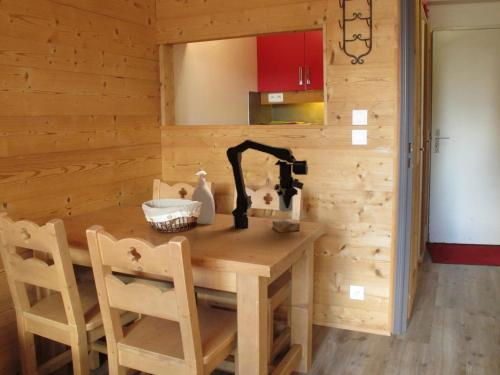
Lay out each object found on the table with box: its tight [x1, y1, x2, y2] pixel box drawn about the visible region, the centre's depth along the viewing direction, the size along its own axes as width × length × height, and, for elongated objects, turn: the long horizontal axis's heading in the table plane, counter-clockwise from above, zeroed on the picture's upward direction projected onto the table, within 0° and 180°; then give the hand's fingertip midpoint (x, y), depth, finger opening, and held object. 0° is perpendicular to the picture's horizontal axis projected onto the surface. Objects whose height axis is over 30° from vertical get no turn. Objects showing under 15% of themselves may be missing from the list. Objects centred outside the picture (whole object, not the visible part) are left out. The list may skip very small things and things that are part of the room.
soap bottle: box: [191, 170, 216, 225], centre depth 252 cm, size 14×8×27 cm, turn 56°
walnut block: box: [272, 218, 301, 233], centre depth 238 cm, size 10×10×4 cm
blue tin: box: [278, 195, 293, 213], centre depth 236 cm, size 5×5×7 cm
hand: (285, 207), depth 236 cm, fingers closed on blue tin, 5 cm apart
